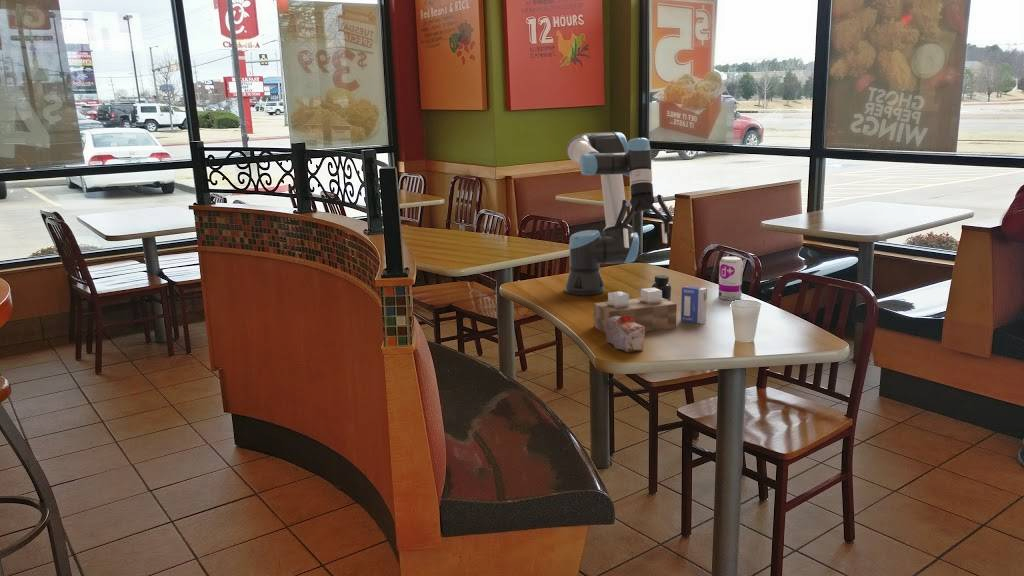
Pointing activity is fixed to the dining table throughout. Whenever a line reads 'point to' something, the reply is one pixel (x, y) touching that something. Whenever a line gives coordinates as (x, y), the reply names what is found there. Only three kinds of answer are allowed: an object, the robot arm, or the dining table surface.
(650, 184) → the robot arm
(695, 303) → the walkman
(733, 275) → the supplement can
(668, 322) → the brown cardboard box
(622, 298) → the peg near
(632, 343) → the food item
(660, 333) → the dining table surface
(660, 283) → the supplement bottle
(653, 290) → the peg far
